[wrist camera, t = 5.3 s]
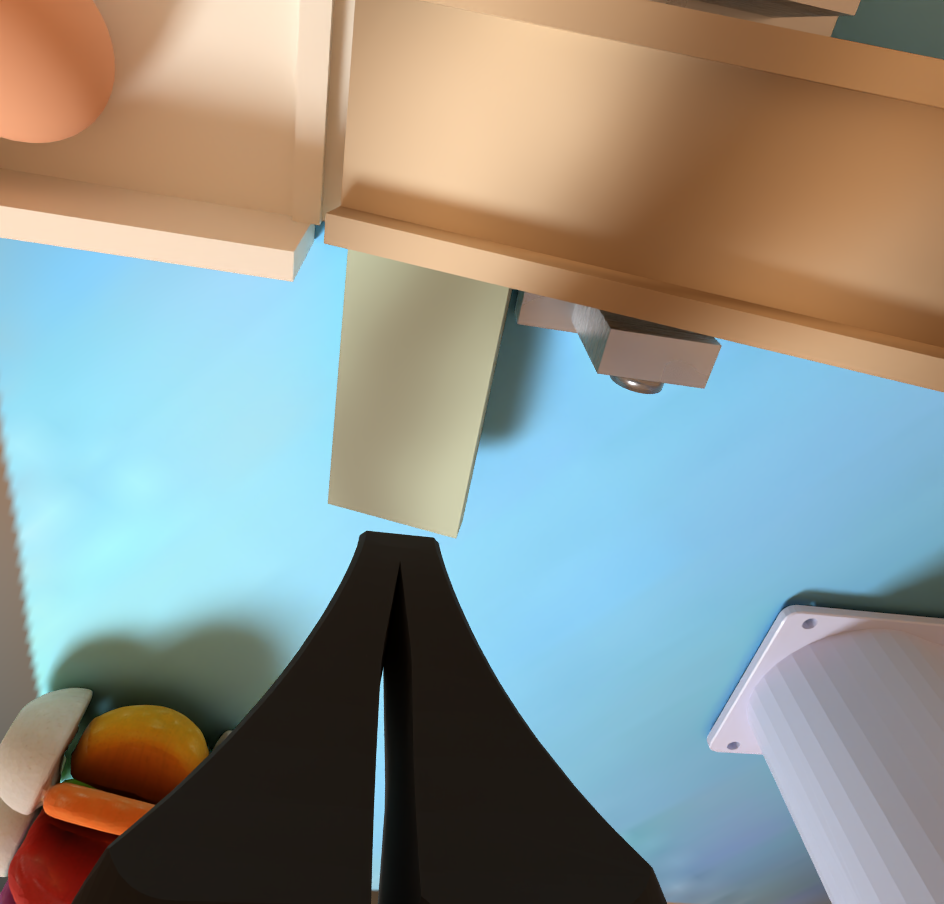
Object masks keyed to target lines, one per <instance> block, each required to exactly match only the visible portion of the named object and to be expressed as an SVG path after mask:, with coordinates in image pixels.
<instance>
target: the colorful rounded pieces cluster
mask: <svg viewBox="0 0 944 904" xmlns="http://www.w3.org/2000/svg"><path fill="white" fill-rule="evenodd" d="M92 694H93V693H92V691H91V690H90V689H84V688H67V689H61V690H57V691H53V692H49V693H47V694H44V695H42V696H40V697H38V698H36V699H35V700H33V701H32V702H30V703H28V704H27V705H26V706H25V707H24V708H23V709H22V710H21V711H20V713H19V714H18V716H17V718H16V719H15V721H14V722H13V724H12V725H11V727H10V728H9V730H8V732H7V734H6V735H5V737H4V739H3V741H2V742H1V744H0V877H6V876H8V881H7V882H6V884H5V886H4V888H3V890H2V892H1V894H0V904H71V903H72V901H73V899H74V898H75V896H76V894H77V893H78V891H79V889H80V888H81V886H82V884H83V883H84V881H85V879H86V878H87V876H88V875H89V873H90V872H91V870H92V869H93V867H94V866H95V864H96V863H97V861H98V860H99V858H100V857H101V855H102V854H103V852H104V851H105V849H106V848H107V847H108V846H109V845H110V844H111V843H112V842H113V841H114V840H115V839H117V838H118V837H119V836H120V835H121V834H122V833H124V832H125V831H126V830H127V829H128V828H129V827H131V826H132V825H133V824H134V823H135V822H136V821H138V820H139V819H140V818H141V817H142V816H143V815H145V814H146V813H147V812H148V811H149V810H150V809H151V808H153V807H154V806H155V805H156V804H157V803H158V802H160V801H161V800H162V799H163V798H164V797H165V796H167V795H168V794H169V793H170V792H171V791H172V790H173V789H174V788H175V787H176V786H177V785H179V784H180V783H181V782H182V781H183V780H184V779H185V778H186V777H187V776H188V775H189V774H190V773H191V772H192V771H193V770H194V769H195V768H196V767H197V766H198V765H199V764H200V763H201V762H202V761H203V760H204V759H205V758H206V757H207V756H208V755H209V750H208V748H207V744H206V741H205V738H204V736H203V734H202V732H201V730H200V729H199V728H198V727H197V726H196V725H195V724H194V723H193V722H192V721H191V720H190V719H189V718H187V717H186V716H185V715H183V714H182V713H180V712H178V711H176V710H174V709H171V708H167V707H163V706H156V705H133V706H126V707H121V708H117V709H114V710H111V711H109V712H106V713H104V714H102V715H100V716H97V717H95V718H94V719H93V720H92V721H91V722H90V723H89V724H88V726H87V728H86V729H85V731H84V732H83V734H82V736H81V738H80V740H79V742H78V744H77V746H76V748H75V749H74V751H73V752H72V757H71V775H72V777H73V778H74V779H69V780H65V781H63V782H62V783H60V777H61V773H62V770H63V768H64V765H65V762H66V756H64V754H65V752H66V751H67V750H68V746H69V744H70V743H71V742H72V740H73V739H74V737H75V735H76V733H77V731H78V729H79V727H78V725H79V723H80V721H81V719H82V717H83V715H84V713H85V711H86V709H87V707H88V705H89V703H90V700H91V698H92ZM231 732H232V730H228V731H226V732H225V733H224V734H223V735H222V736H221V737H220V738H219V740H218V741H217V743H216V744H215V747H214V749H215V748H216V747H217V746H218V745H219V744H220V743H221V742H222V741H223V740H224V739H225V738H226V737H227V736H228V735H229V734H230V733H231ZM214 749H213V750H214Z"/></svg>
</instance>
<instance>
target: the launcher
mask: <svg viewBox="0 0 944 904" xmlns="http://www.w3.org/2000/svg"><path fill="white" fill-rule="evenodd" d="M324 243H325V244H329V245H333V246H337V247H342V248H346V249H348V256H347V268H346V281H345V294H344V306H343V319H342V332H341V344H340V357H339V369H338V382H337V395H336V407H335V420H334V432H333V445H332V458H331V470H330V483H329V496H328V504H332V505H335V506H339V507H343V508H346V509H350V510H354V511H357V512H361V513H365V514H368V515H372V516H376V517H379V518H383V519H387V520H390V521H394V522H398V523H401V524H405V525H409V526H412V527H416V528H419V529H423V530H427V531H430V532H434V533H438V534H441V535H445V536H449V537H452V538H456V537H457V534H458V532H459V529H460V526H461V524H462V521H463V516H464V511H465V507H466V502H467V497H468V493H469V488H470V483H471V479H472V474H473V469H474V465H475V460H476V455H477V451H478V446H479V441H480V437H481V432H482V427H483V423H484V418H485V414H486V409H487V404H488V400H489V395H490V390H491V386H492V381H493V376H494V372H495V367H496V362H497V358H498V353H499V348H500V344H501V339H502V334H503V330H504V325H505V320H506V316H507V311H508V306H509V302H510V297H511V292H512V289H516V290H520V291H525V292H529V293H533V294H537V295H541V296H545V297H550V298H554V299H558V300H562V301H566V302H570V303H575V304H579V305H583V306H587V307H591V308H595V309H599V310H604V311H608V312H612V313H616V314H620V315H624V316H629V317H633V318H637V319H641V320H645V321H649V322H654V323H658V324H662V325H666V326H670V327H674V328H678V329H683V330H687V331H691V332H695V333H699V334H703V335H708V336H712V337H716V338H720V339H724V340H728V341H733V342H737V343H741V344H745V345H749V346H753V347H757V348H762V349H766V350H770V351H774V352H778V353H782V354H787V355H791V356H795V357H799V358H803V359H807V360H812V361H816V362H820V363H824V364H828V365H832V366H837V367H841V368H845V369H849V370H853V371H857V372H861V373H866V374H870V375H874V376H878V377H882V378H886V379H891V380H895V381H899V382H903V383H907V384H911V385H916V386H920V387H924V388H928V389H932V390H936V391H940V392H944V60H942V59H937V58H932V57H927V56H922V55H917V54H912V53H907V52H902V51H897V50H892V49H887V48H883V47H878V46H873V45H868V44H863V43H858V42H853V41H848V40H843V39H838V38H833V37H828V36H823V35H818V34H813V33H808V32H803V31H798V30H793V29H788V28H783V27H778V26H773V25H768V24H763V23H758V22H753V21H748V20H743V19H738V18H733V17H728V16H723V15H718V14H713V13H708V12H703V11H698V10H693V9H689V8H684V7H679V6H674V5H669V4H664V3H659V2H654V1H649V0H355V10H354V24H353V38H352V52H351V66H350V80H349V94H348V108H347V122H346V136H345V150H344V164H343V179H342V193H341V206H339V207H337V208H335V209H333V210H331V211H329V212H327V213H326V217H325V234H324Z"/></svg>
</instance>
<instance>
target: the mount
mask: <svg viewBox="0 0 944 904" xmlns="http://www.w3.org/2000/svg"><path fill="white" fill-rule="evenodd" d="M649 1H654V2H659V3H664V4H669V5H674V6H679V7H684V8H689V9H693V10H698V11H703V12H708V13H713V14H718V15H723V16H728V17H733V18H738V19H743V20H748V21H753V22H758V23H763V24H768V25H773V26H778V27H783V28H788V29H793V30H798V31H803V32H808V33H813V34H818V35H823V36H828V37H831V34H832V31H833V29H834V26H835V24H836V21H837V19H838V16H855V13H856V11H857V8H858V6H859V3H860V1H861V0H649ZM514 314H515V317H516V321H517V324H521V325H527V326H534V327H541V328H547V329H554V330H561V331H567V332H574V333H578V335H579V337H580V339H581V341H582V343H583V345H584V347H585V349H586V351H587V353H588V355H589V358H590V360H591V362H592V364H593V366H594V368H595V370H596V372H597V373H598V374H605V375H610V378H611V379H612V380H613V381H614V382H615V383H616V384H618V385H620V386H621V387H623V388H626V389H628V390H631V391H634V392H638V393H644V394H655V393H658V392H660V391H661V390H662V388H663V385H664V383H669V384H676V385H683V386H690V387H697V388H705V386H706V383H707V381H708V378H709V376H710V373H711V371H712V368H713V366H714V363H715V361H716V358H717V356H718V353H719V351H720V348H721V345H720V343H719V342H718V341H717V340H716V339H715V338H714V337H712V336H708V335H703V334H699V333H695V332H691V331H687V330H683V329H678V328H674V327H670V326H666V325H662V324H658V323H654V322H649V321H645V320H641V319H637V318H633V317H629V316H624V315H620V314H616V313H612V312H608V311H604V310H599V309H595V308H591V307H587V306H583V305H579V304H575V303H570V302H566V301H562V300H558V299H554V298H550V297H545V296H541V295H537V294H533V293H529V292H525V291H520V290H519V292H518V296H517V301H516V305H515V310H514Z"/></svg>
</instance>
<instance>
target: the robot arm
mask: <svg viewBox="0 0 944 904" xmlns="http://www.w3.org/2000/svg"><path fill="white" fill-rule="evenodd" d="M382 671H383V677H384V738H385V813H384V827H383V841H382V855H381V869H380V883H379V896H378V904H667V902H666V900H665V897H664V895H663V892H662V890H661V887H660V885H659V882H658V880H657V877H656V875H655V873H654V870H653V868H652V867H651V866H650V865H649V864H648V863H647V862H646V861H645V860H644V859H643V858H642V857H641V856H640V855H639V854H638V853H637V852H636V851H635V850H634V849H633V848H632V847H631V846H630V845H629V844H628V843H627V842H626V841H625V840H624V839H623V838H622V837H621V836H620V835H619V834H618V833H617V832H616V831H615V830H614V829H613V828H612V827H611V826H610V825H609V824H608V823H607V822H606V821H605V819H604V818H603V817H602V816H601V815H600V814H599V813H598V812H597V811H596V810H595V808H594V807H593V806H592V805H591V804H590V803H589V802H588V801H587V799H586V798H585V797H584V796H583V795H582V794H581V793H580V791H579V790H578V789H577V788H576V787H575V786H574V785H573V783H572V782H571V781H570V780H569V778H568V777H567V776H566V775H565V773H564V772H563V771H562V769H561V768H560V767H559V766H558V764H557V763H556V762H555V761H554V759H553V758H552V757H551V756H550V754H549V753H548V752H547V751H546V749H545V748H544V747H543V746H542V744H541V743H540V742H539V740H538V739H537V738H536V736H535V735H534V734H533V732H532V731H531V729H530V728H529V726H528V725H527V724H526V722H525V721H524V719H523V718H522V716H521V715H520V714H519V712H518V711H517V709H516V707H515V706H514V704H513V703H512V701H511V700H510V698H509V697H508V695H507V694H506V692H505V690H504V689H503V687H502V685H501V684H500V682H499V681H498V679H497V677H496V675H495V674H494V672H493V670H492V668H491V667H490V665H489V663H488V661H487V659H486V657H485V656H484V654H483V652H482V650H481V648H480V646H479V644H478V642H477V640H476V638H475V636H474V634H473V632H472V630H471V628H470V626H469V624H468V622H467V620H466V617H465V615H464V613H463V611H462V609H461V606H460V604H459V602H458V599H457V597H456V595H455V592H454V590H453V587H452V584H451V582H450V579H449V577H448V574H447V571H446V568H445V565H444V562H443V558H442V555H441V551H440V547H439V543H438V542H437V541H436V540H435V539H434V538H432V537H422V536H412V535H402V534H393V533H383V532H373V531H366V532H364V533H363V534H361V535H360V537H359V541H358V545H357V548H356V550H355V553H354V556H353V558H352V561H351V563H350V565H349V567H348V569H347V571H346V574H345V576H344V578H343V580H342V582H341V584H340V585H339V587H338V589H337V591H336V592H335V594H334V596H333V598H332V599H331V601H330V603H329V605H328V606H327V608H326V610H325V612H324V613H323V615H322V616H321V618H320V620H319V621H318V623H317V624H316V626H315V627H314V629H313V630H312V632H311V633H310V635H309V636H308V638H307V639H306V641H305V642H304V644H303V645H302V647H301V648H300V649H299V651H298V652H297V654H296V655H295V656H294V658H293V659H292V660H291V662H290V663H289V664H288V666H287V667H286V668H285V670H284V671H283V672H282V674H281V675H280V676H279V677H278V679H277V680H276V681H275V682H274V684H273V685H272V686H271V687H270V689H269V690H268V691H267V692H266V693H265V695H264V696H263V697H262V698H261V699H260V700H259V702H258V703H257V704H256V705H255V706H254V707H253V708H252V710H251V711H250V712H249V713H248V714H247V715H246V716H245V718H244V719H243V720H242V721H241V722H240V723H239V724H238V725H237V727H236V728H235V729H234V730H233V731H232V732H231V733H230V734H229V735H228V736H227V737H226V738H225V739H224V740H223V741H222V742H221V743H220V744H219V745H218V746H217V747H216V748H215V749H214V750H213V751H212V752H211V753H210V754H209V755H208V756H207V757H206V758H205V759H204V760H203V761H202V762H201V763H200V764H199V765H198V766H197V767H196V768H195V769H194V770H193V771H192V772H191V773H190V774H189V775H188V776H187V777H186V778H185V779H184V780H183V781H182V782H181V783H180V784H179V785H177V786H176V787H175V788H174V789H173V790H172V791H171V792H170V793H169V794H168V795H167V796H165V797H164V798H163V799H162V800H161V801H160V802H158V803H157V804H156V805H155V806H154V807H153V808H151V809H150V810H149V811H148V812H147V813H146V814H145V815H143V816H142V817H141V818H140V819H139V820H138V821H136V822H135V823H134V824H133V825H132V826H131V827H129V828H128V829H127V830H126V831H125V832H124V833H122V834H121V835H120V836H119V837H118V838H117V839H115V840H114V841H113V842H112V843H111V844H110V845H109V846H108V847H107V848H106V849H105V851H104V852H103V854H102V855H101V857H100V858H99V860H98V861H97V863H96V864H95V866H94V867H93V869H92V870H91V872H90V873H89V875H88V876H87V878H86V879H85V881H84V883H83V884H82V886H81V888H80V889H79V891H78V893H77V894H76V896H75V898H74V899H73V901H72V903H71V904H371V884H372V849H373V819H374V793H375V770H376V748H377V728H378V709H379V692H380V682H381V677H382ZM707 742H708V744H709V747H710V749H711V750H713V751H716V752H729V753H746V754H763V755H764V757H765V760H766V762H767V764H768V766H769V768H770V770H771V773H772V775H773V777H774V779H775V781H776V783H777V786H778V788H779V790H780V792H781V794H782V796H783V799H784V801H785V803H786V805H787V807H788V809H789V812H790V814H791V816H792V818H793V820H794V822H795V825H796V827H797V829H798V831H799V833H800V835H801V838H802V840H803V842H804V844H805V846H806V848H807V851H808V853H809V855H810V857H811V859H812V861H813V864H814V866H815V868H816V870H817V872H818V874H819V877H820V879H821V881H822V883H823V885H824V887H825V890H826V892H827V894H828V896H829V898H830V900H831V903H832V904H944V619H942V618H931V617H920V616H910V615H899V614H889V613H878V612H867V611H857V610H846V609H835V608H825V607H814V606H803V605H791V606H788V607H786V608H785V609H783V610H782V611H781V612H780V613H779V615H778V617H777V618H776V620H775V622H774V624H773V625H772V627H771V629H770V630H769V632H768V634H767V636H766V637H765V639H764V641H763V642H762V644H761V646H760V647H759V649H758V651H757V653H756V654H755V656H754V658H753V659H752V661H751V663H750V665H749V666H748V668H747V670H746V671H745V673H744V675H743V677H742V678H741V680H740V682H739V683H738V685H737V687H736V689H735V690H734V692H733V694H732V695H731V697H730V699H729V700H728V702H727V704H726V706H725V707H724V709H723V711H722V712H721V714H720V716H719V718H718V719H717V721H716V723H715V724H714V726H713V728H712V730H711V731H710V733H709V735H708V736H707Z"/></svg>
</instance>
